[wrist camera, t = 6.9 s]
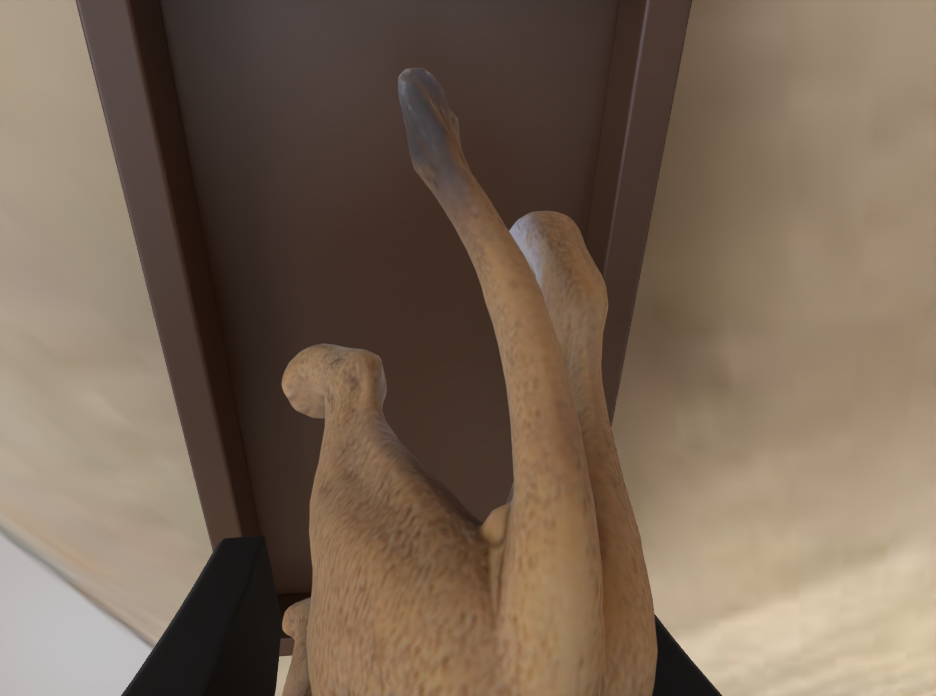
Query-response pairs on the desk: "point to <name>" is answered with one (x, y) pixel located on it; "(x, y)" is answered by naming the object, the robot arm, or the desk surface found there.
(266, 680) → the robot arm
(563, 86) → the brown rectangular tray
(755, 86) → the desk surface
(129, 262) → the desk surface
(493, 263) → the lion figurine
